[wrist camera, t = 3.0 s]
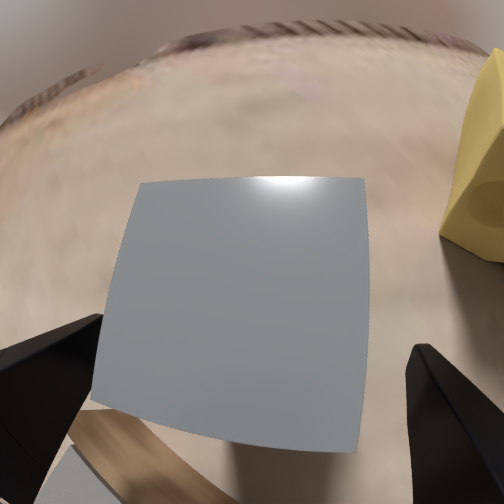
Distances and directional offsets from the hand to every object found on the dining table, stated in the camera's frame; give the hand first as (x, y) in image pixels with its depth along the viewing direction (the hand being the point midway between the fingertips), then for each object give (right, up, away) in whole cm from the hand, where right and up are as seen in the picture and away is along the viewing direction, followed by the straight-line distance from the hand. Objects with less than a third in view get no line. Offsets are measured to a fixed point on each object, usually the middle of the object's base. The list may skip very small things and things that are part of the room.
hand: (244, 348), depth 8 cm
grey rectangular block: (+2, -3, +8) cm, 9 cm away
